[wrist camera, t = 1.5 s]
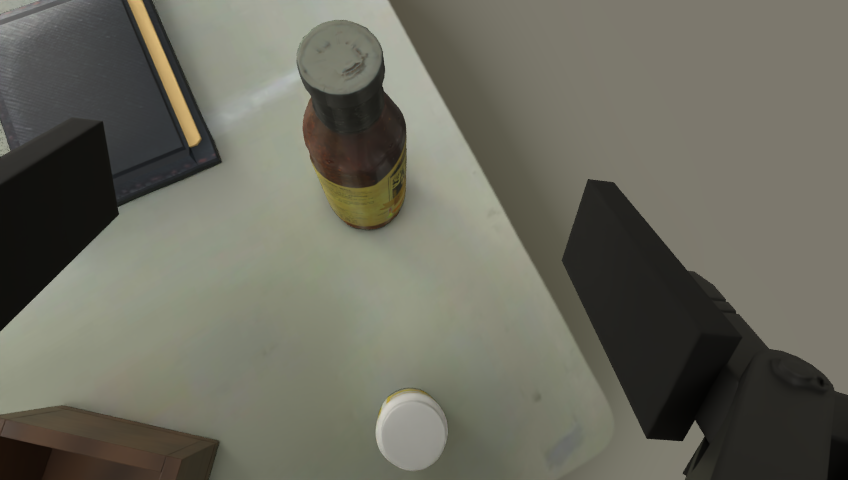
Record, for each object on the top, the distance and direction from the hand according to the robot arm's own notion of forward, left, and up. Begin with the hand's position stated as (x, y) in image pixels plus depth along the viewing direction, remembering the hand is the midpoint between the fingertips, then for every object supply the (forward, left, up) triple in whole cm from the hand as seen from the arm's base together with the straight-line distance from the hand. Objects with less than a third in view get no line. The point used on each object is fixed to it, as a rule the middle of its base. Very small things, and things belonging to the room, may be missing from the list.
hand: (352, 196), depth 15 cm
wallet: (+27, -11, -28) cm, 40 cm away
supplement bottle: (-4, +8, -28) cm, 29 cm away
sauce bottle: (+3, -8, -28) cm, 29 cm away
